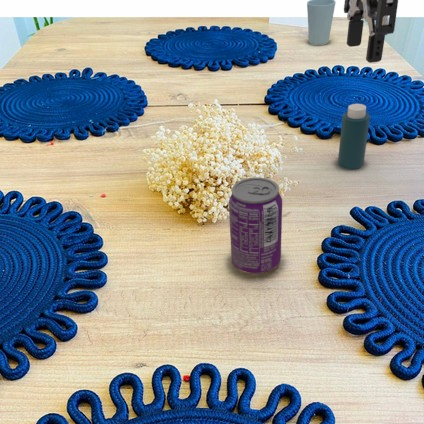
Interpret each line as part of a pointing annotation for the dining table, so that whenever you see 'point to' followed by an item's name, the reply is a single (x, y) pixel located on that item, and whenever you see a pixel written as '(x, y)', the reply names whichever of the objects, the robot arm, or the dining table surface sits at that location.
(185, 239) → the dining table surface
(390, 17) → the robot arm
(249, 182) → the beverage can
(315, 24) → the cup
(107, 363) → the dining table surface
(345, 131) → the bottle
